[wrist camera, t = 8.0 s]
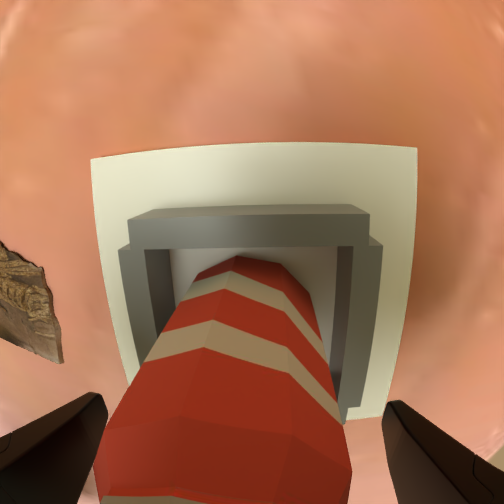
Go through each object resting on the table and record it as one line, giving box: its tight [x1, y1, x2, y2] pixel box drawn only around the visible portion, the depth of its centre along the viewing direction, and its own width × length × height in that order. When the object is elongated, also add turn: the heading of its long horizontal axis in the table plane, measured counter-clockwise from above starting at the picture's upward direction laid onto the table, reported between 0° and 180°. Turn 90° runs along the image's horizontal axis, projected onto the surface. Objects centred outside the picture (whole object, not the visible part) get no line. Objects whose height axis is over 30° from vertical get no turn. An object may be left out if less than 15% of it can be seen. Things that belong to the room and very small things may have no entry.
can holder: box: [91, 142, 417, 424], centre depth 15 cm, size 16×16×4 cm
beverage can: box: [93, 255, 352, 504], centre depth 10 cm, size 6×6×12 cm
